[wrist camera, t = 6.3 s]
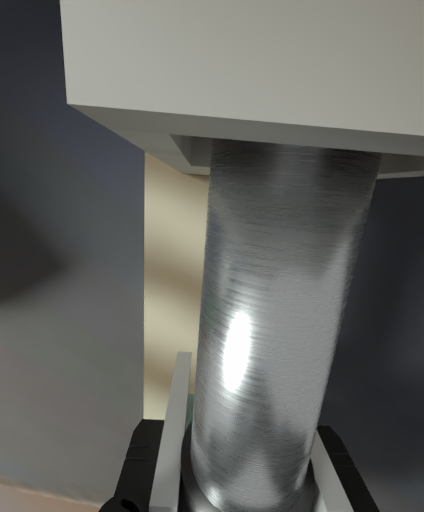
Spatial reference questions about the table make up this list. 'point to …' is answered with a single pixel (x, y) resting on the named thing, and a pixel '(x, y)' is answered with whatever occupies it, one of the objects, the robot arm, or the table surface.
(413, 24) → the rail
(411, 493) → the table surface
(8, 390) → the table surface
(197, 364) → the slip tube
